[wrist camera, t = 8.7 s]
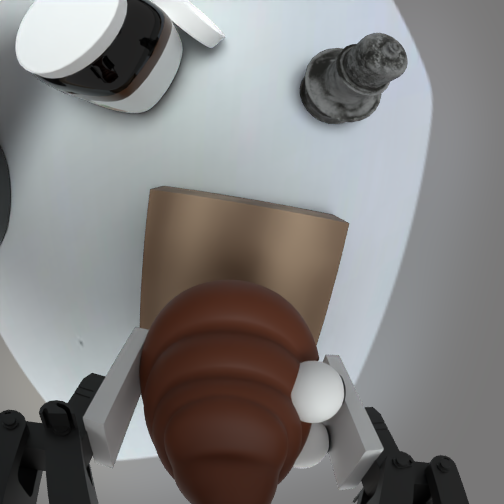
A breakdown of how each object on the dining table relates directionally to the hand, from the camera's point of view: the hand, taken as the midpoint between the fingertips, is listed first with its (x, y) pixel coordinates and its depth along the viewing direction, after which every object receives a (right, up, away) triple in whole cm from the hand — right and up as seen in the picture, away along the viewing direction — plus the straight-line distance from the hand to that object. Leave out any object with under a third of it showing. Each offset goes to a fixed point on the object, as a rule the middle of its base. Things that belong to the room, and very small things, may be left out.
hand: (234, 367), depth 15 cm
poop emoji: (0, 0, 0) cm, 1 cm away
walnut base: (-1, +3, +12) cm, 12 cm away
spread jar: (-8, +22, +6) cm, 24 cm away
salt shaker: (+7, +19, +8) cm, 22 cm away
